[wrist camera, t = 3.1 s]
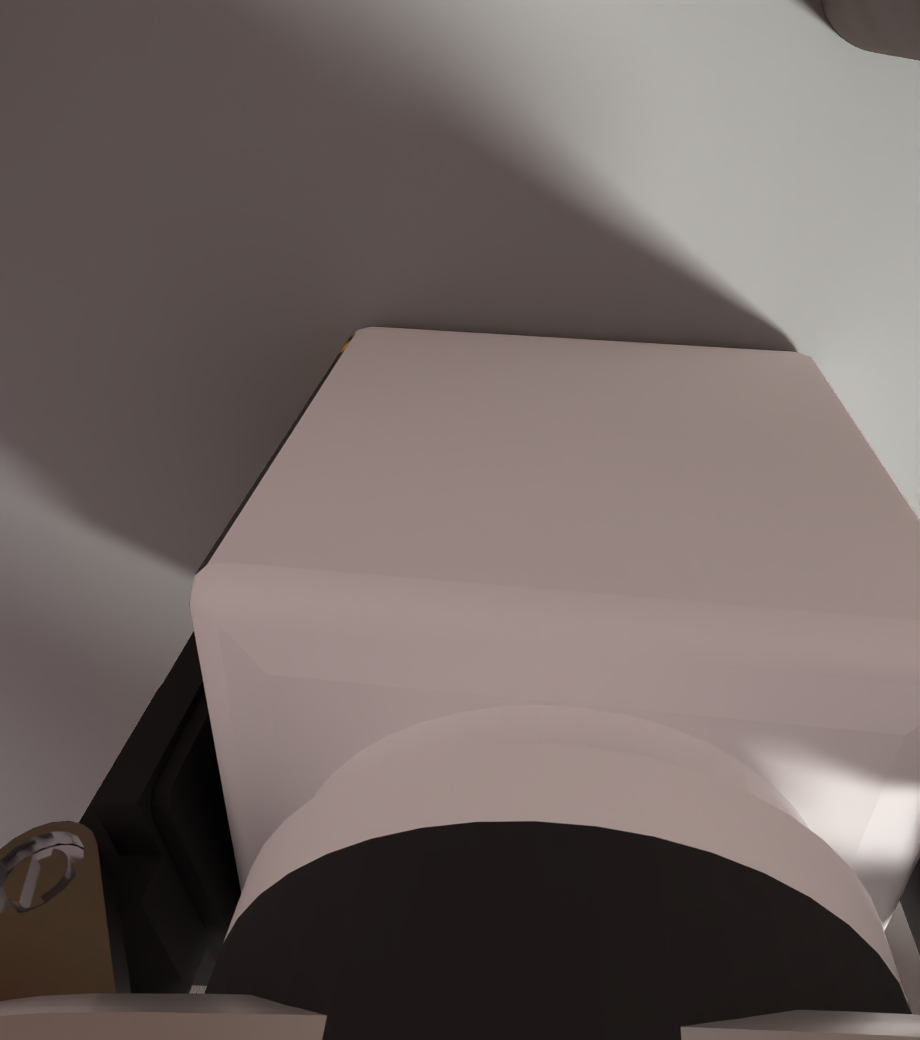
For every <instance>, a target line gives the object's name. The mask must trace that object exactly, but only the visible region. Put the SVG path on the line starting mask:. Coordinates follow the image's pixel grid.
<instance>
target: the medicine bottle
mask: <svg viewBox="0 0 920 1040" xmlns="http://www.w3.org/2000/svg"><path fill="white" fill-rule="evenodd" d="M189 605H190V611H191V616H192V622H193V628H194V633H195V639H196V644H197V650H198V655H199V661H200V666H201V672H202V678H203V683H204V689H205V694H206V700H207V705H208V711H209V716H210V722H211V727H212V733H213V739H214V744H215V750H216V755H217V761H218V766H219V772H220V777H221V783H222V789H223V794H224V800H225V805H226V811H227V816H228V822H229V827H230V833H231V838H232V844H233V850H234V855H235V861H236V866H237V872H238V877H239V883H240V888H241V896H240V899H239V901H238V904H237V907H236V910H235V912H234V915H233V918H232V920H231V923H230V926H229V929H228V931H227V934H226V937H225V939H224V942H223V945H222V948H221V950H220V953H219V956H218V958H217V961H216V964H215V967H214V969H213V972H212V975H211V977H210V980H209V983H208V986H207V988H206V991H205V994H241V995H253V996H256V997H260V998H263V999H267V1000H270V1001H274V1002H277V1003H280V1004H283V1005H287V1006H291V1007H296V1008H300V1009H304V1010H308V1011H312V1012H316V1013H320V1014H323V1015H327V1018H326V1023H325V1028H324V1033H323V1037H322V1040H681V1027H682V1026H689V1025H696V1024H703V1023H709V1022H716V1021H725V1020H733V1019H741V1018H746V1017H753V1016H759V1015H766V1014H773V1013H780V1012H787V1011H794V1010H819V1011H850V1012H872V1013H893V1014H912V1013H911V1010H910V1007H909V1004H908V1001H907V998H906V995H905V992H904V989H903V986H902V983H901V980H900V977H899V974H898V971H897V968H896V965H895V962H894V959H893V956H892V953H891V950H890V947H889V944H888V941H887V938H886V935H885V932H884V931H885V929H886V927H887V925H888V923H889V921H890V919H891V917H892V915H893V912H894V910H895V908H896V906H897V904H898V902H899V900H900V898H901V896H902V894H903V891H904V889H905V887H906V885H907V883H908V881H909V879H910V877H911V875H912V872H913V870H914V868H915V866H916V864H917V862H918V860H919V858H920V519H919V517H918V516H917V514H916V513H915V511H914V510H913V508H912V507H911V505H910V504H909V502H908V501H907V499H906V498H905V496H904V495H903V493H902V492H901V490H900V489H899V487H898V486H897V484H896V483H895V481H894V480H893V478H892V477H891V475H890V474H889V472H888V471H887V469H886V468H885V466H884V465H883V463H882V462H881V460H880V459H879V457H878V456H877V454H876V453H875V451H874V450H873V448H872V447H871V445H870V444H869V442H868V441H867V439H866V438H865V436H864V435H863V433H862V432H861V430H860V429H859V427H858V426H857V424H856V423H855V421H854V420H853V418H852V417H851V415H850V414H849V412H848V411H847V409H846V408H845V406H844V405H843V403H842V402H841V400H840V399H839V397H838V396H837V394H836V393H835V391H834V390H833V388H832V387H831V385H830V384H829V382H828V381H827V379H826V378H825V376H824V375H823V373H822V372H821V370H820V369H819V367H818V366H817V364H816V363H815V362H814V361H813V359H812V358H811V357H809V356H806V355H803V354H800V353H797V352H790V351H773V350H756V349H739V348H723V347H706V346H689V345H672V344H656V343H639V342H622V341H605V340H589V339H572V338H555V337H538V336H522V335H505V334H488V333H471V332H455V331H438V330H421V329H404V328H388V327H368V328H363V329H359V330H357V331H356V332H355V333H354V334H353V335H352V336H351V337H350V338H349V339H348V341H347V342H346V344H345V345H344V347H343V349H342V350H341V352H340V353H339V355H338V356H337V358H336V359H335V361H334V362H333V364H332V365H331V367H330V369H329V370H328V372H327V373H326V375H325V376H324V378H323V379H322V381H321V382H320V384H319V385H318V387H317V388H316V390H315V392H314V393H313V395H312V396H311V398H310V399H309V401H308V402H307V404H306V405H305V407H304V408H303V410H302V412H301V413H300V415H299V416H298V418H297V419H296V421H295V422H294V424H293V425H292V427H291V428H290V430H289V431H288V433H287V435H286V436H285V438H284V439H283V441H282V442H281V444H280V445H279V447H278V448H277V450H276V451H275V453H274V454H273V456H272V458H271V459H270V461H269V462H268V464H267V465H266V467H265V468H264V470H263V471H262V473H261V474H260V476H259V478H258V479H257V481H256V482H255V484H254V485H253V487H252V488H251V490H250V491H249V493H248V494H247V496H246V497H245V499H244V501H243V502H242V504H241V505H240V507H239V508H238V510H237V511H236V513H235V514H234V516H233V517H232V519H231V521H230V522H229V524H228V525H227V527H226V528H225V530H224V531H223V533H222V534H221V536H220V537H219V539H218V540H217V542H216V544H215V545H214V547H213V548H212V550H211V551H210V553H209V554H208V556H207V557H206V559H205V560H204V562H203V564H202V565H201V567H200V568H199V570H198V571H197V573H196V574H195V576H194V580H193V586H192V591H191V598H190V604H189Z"/></svg>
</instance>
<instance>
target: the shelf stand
mask: <svg viewBox="0 0 920 1040" xmlns="http://www.w3.org/2000/svg"><path fill="white" fill-rule="evenodd" d="M821 3H822V7H823V10H824V12H825V15H826V17H827V19H828V21H829V22H830V24H831V26H832V27H833V28H834V30H835V31H836V32H837V33H838V34H839V35H840V36H841V37H842V38H843V39H845V40H846V41H847V42H849V43H850V44H852V45H854V46H855V47H858V48H860V49H863V50H866V51H871V52H875V53H881V54H886V55H892V56H897V57H903V58H909V59H914V60H920V0H821Z"/></svg>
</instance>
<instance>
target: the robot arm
mask: <svg viewBox="0 0 920 1040" xmlns="http://www.w3.org/2000/svg"><path fill="white" fill-rule="evenodd" d="M240 896H241V888H240V883H239V877H238V872H237V866H236V861H235V855H234V850H233V844H232V838H231V833H230V827H229V822H228V816H227V811H226V805H225V800H224V794H223V789H222V783H221V777H220V772H219V766H218V761H217V755H216V750H215V744H214V739H213V733H212V727H211V722H210V716H209V711H208V705H207V700H206V694H205V689H204V683H203V678H202V672H201V666H200V661H199V655H198V650H197V644H196V639H195V633H194V632H193V633H192V635H191V637H190V639H189V640H188V642H187V644H186V645H185V647H184V649H183V650H182V652H181V654H180V655H179V657H178V659H177V661H176V662H175V664H174V666H173V667H172V669H171V671H170V672H169V674H168V676H167V677H166V679H165V681H164V682H163V684H162V685H161V686H160V688H159V689H158V690H157V692H156V694H155V695H154V697H153V699H152V700H151V702H150V704H149V705H148V707H147V709H146V710H145V712H144V714H143V716H142V717H141V719H140V721H139V722H138V724H137V726H136V727H135V729H134V731H133V732H132V734H131V736H130V737H129V739H128V741H127V742H126V744H125V746H124V748H123V749H122V751H121V753H120V754H119V756H118V758H117V759H116V761H115V763H114V764H113V766H112V768H111V769H110V771H109V773H108V774H107V776H106V778H105V780H104V781H103V783H102V785H101V786H100V788H99V790H98V791H97V793H96V795H95V796H94V798H93V800H92V801H91V803H90V805H89V806H88V808H87V810H86V812H85V813H84V815H83V817H82V818H81V820H80V822H79V823H75V822H71V821H63V822H52V823H48V824H45V825H42V826H39V827H36V828H33V829H31V830H29V831H27V832H25V833H24V834H22V835H20V836H18V837H16V838H14V839H13V840H12V841H10V842H9V843H8V844H6V845H5V846H4V847H3V848H1V849H0V1040H322V1037H323V1033H324V1028H325V1023H326V1018H327V1015H323V1014H320V1013H316V1012H312V1011H308V1010H304V1009H300V1008H296V1007H291V1006H287V1005H283V1004H280V1003H277V1002H274V1001H270V1000H267V999H263V998H260V997H256V996H253V995H241V994H189V992H190V989H191V986H192V985H203V986H208V983H209V980H210V977H211V975H212V972H213V969H214V967H215V964H216V961H217V958H218V956H219V953H220V950H221V948H222V945H223V942H224V939H225V937H226V934H227V931H228V929H229V926H230V923H231V920H232V918H233V915H234V912H235V910H236V907H237V904H238V901H239V899H240ZM900 902H901V905H902V907H903V910H904V913H905V916H906V918H907V921H908V924H909V927H910V929H911V932H912V935H913V938H914V940H915V943H916V946H917V949H918V951H919V954H920V858H919V860H918V862H917V864H916V866H915V868H914V870H913V872H912V875H911V877H910V879H909V881H908V883H907V885H906V887H905V889H904V891H903V894H902V896H901V898H900ZM681 1040H920V1015H913V1014H893V1013H872V1012H850V1011H819V1010H794V1011H787V1012H780V1013H773V1014H766V1015H759V1016H753V1017H746V1018H741V1019H733V1020H725V1021H716V1022H709V1023H703V1024H696V1025H689V1026H682V1027H681Z"/></svg>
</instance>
